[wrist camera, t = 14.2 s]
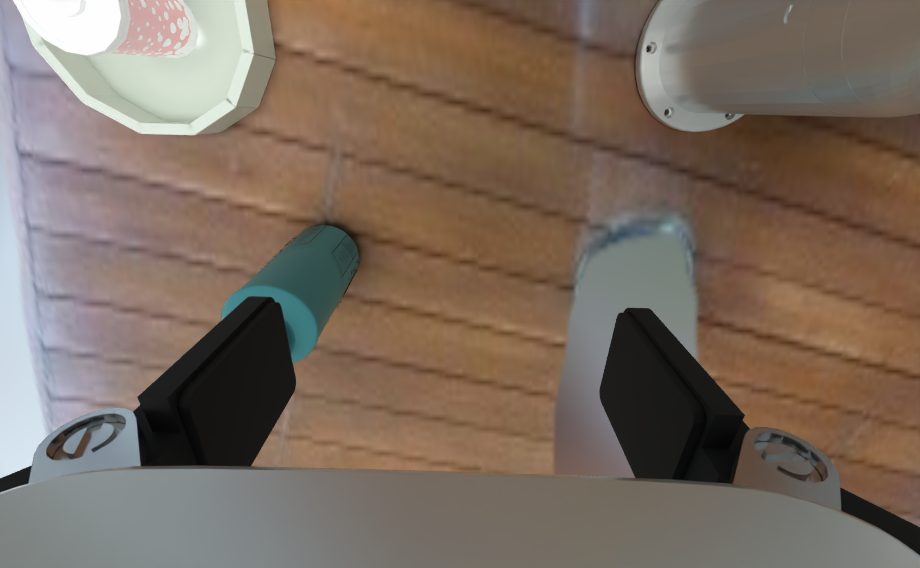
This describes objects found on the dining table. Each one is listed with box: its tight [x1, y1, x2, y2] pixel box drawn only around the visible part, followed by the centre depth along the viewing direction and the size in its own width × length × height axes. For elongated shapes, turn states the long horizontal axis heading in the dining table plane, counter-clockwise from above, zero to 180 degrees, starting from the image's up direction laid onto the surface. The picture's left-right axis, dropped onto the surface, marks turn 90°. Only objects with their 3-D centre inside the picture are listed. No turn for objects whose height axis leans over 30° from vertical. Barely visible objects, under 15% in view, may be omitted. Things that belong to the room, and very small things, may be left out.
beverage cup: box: [13, 0, 198, 58], centre depth 24 cm, size 6×6×14 cm
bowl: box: [22, 0, 276, 135], centre depth 29 cm, size 16×16×4 cm
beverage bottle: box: [221, 225, 360, 363], centre depth 30 cm, size 6×7×20 cm
